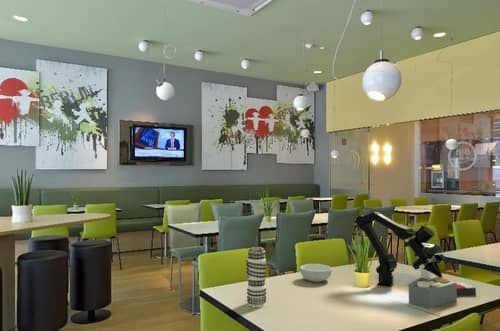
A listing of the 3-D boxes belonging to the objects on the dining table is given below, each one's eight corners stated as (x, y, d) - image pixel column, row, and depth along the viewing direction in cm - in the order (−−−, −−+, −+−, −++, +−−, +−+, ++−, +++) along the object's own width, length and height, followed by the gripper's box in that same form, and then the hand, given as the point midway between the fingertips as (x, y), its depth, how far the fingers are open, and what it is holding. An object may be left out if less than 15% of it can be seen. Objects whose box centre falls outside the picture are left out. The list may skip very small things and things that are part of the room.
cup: (416, 279, 212) (416, 246, 213) (414, 274, 223) (414, 243, 223) (438, 281, 209) (437, 247, 210) (435, 276, 220) (434, 243, 220)
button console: (408, 302, 174) (408, 284, 175) (435, 294, 186) (435, 277, 186) (429, 309, 166) (429, 289, 166) (456, 300, 178) (456, 281, 178)
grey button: (415, 289, 173) (414, 282, 173) (421, 287, 176) (421, 280, 176) (425, 291, 169) (425, 284, 169) (432, 289, 172) (432, 283, 172)
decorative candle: (242, 303, 174) (241, 247, 174) (258, 299, 179) (258, 245, 180) (254, 309, 167) (254, 250, 167) (271, 304, 172) (270, 248, 173)
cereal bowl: (295, 281, 209) (295, 268, 210) (307, 274, 224) (307, 262, 224) (325, 286, 201) (325, 272, 201) (336, 278, 215) (336, 266, 215)
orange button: (433, 284, 181) (433, 277, 181) (439, 282, 183) (439, 275, 183) (443, 286, 176) (443, 279, 177) (449, 284, 179) (449, 278, 179)
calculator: (432, 282, 194) (460, 280, 196) (433, 291, 194) (461, 288, 196) (446, 289, 183) (475, 286, 185) (446, 298, 183) (476, 295, 185)
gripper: (418, 240, 180) (441, 269, 170) (441, 237, 190) (464, 264, 181) (403, 255, 186) (425, 283, 177) (426, 250, 196) (448, 277, 187)
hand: (441, 276), depth 180 cm, fingers closed
